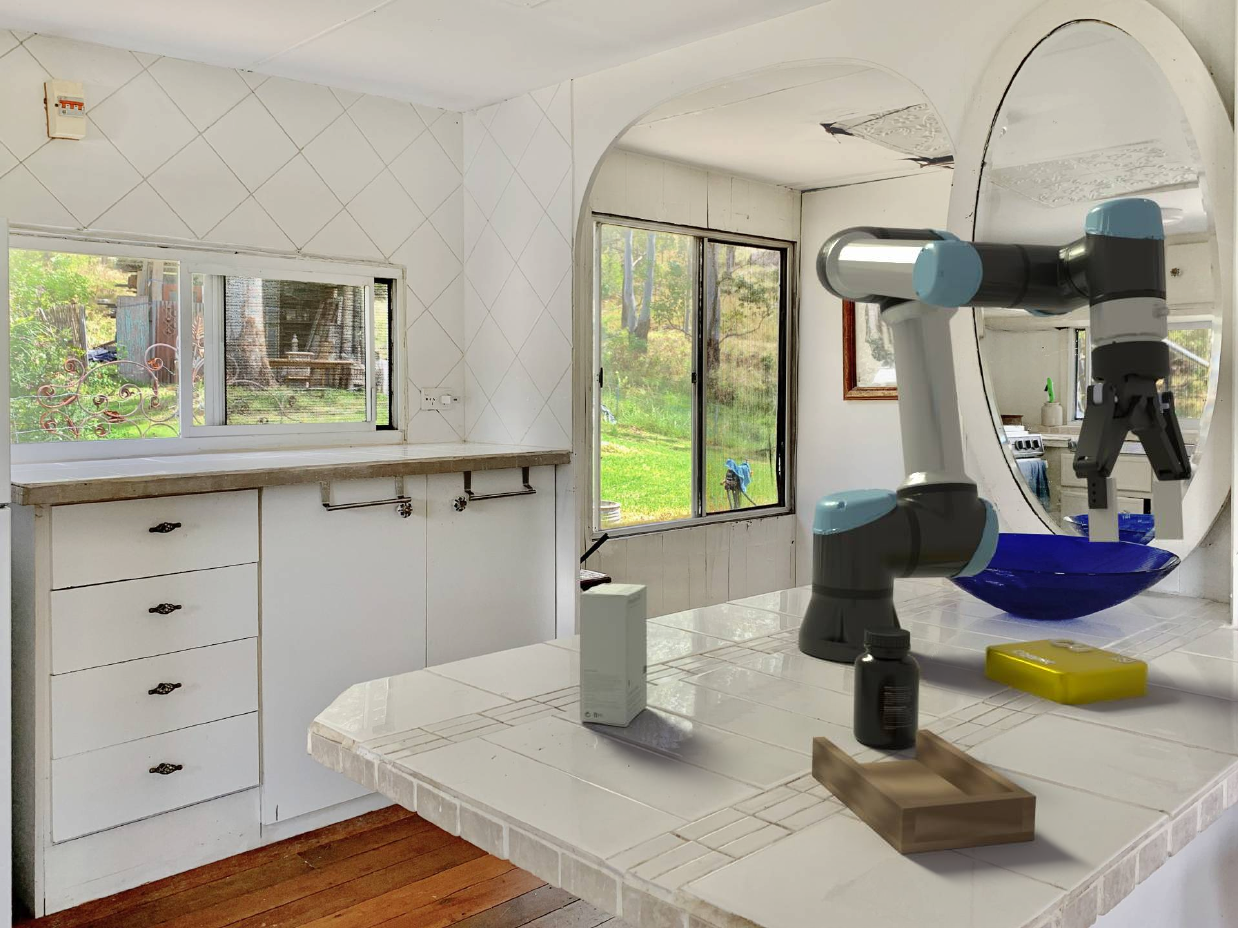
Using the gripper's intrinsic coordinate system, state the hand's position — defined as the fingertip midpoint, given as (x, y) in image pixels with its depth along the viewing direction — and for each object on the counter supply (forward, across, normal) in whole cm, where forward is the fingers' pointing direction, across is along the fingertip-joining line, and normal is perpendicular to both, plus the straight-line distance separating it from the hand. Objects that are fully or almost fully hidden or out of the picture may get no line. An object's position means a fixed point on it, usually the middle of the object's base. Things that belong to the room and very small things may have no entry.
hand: (1137, 541), depth 107 cm
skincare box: (+20, -40, +41) cm, 61 cm away
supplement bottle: (+22, -20, +18) cm, 35 cm away
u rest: (+24, -32, +5) cm, 40 cm away
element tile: (+20, +17, +19) cm, 32 cm away
